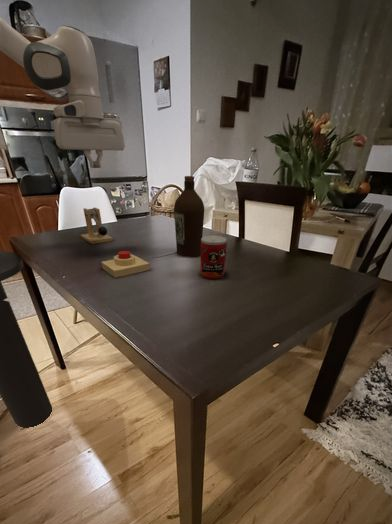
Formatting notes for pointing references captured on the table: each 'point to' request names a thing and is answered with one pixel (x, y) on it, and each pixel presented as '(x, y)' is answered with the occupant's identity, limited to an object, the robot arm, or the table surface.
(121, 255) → the button
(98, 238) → the bracket
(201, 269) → the canned food
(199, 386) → the table surface
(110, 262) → the button block
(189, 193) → the olive oil
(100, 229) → the lever
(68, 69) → the robot arm
